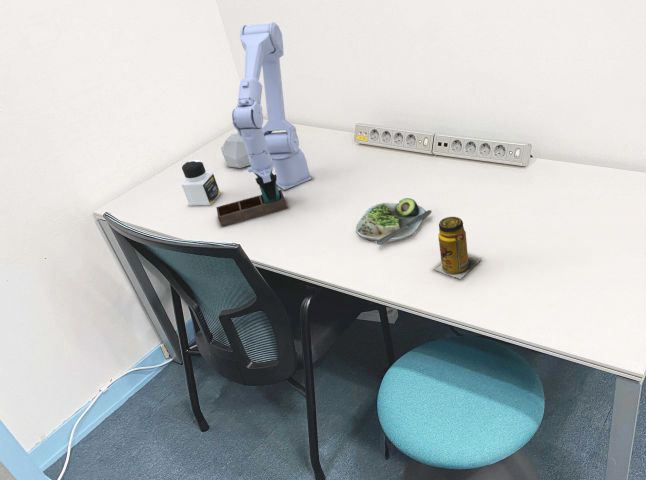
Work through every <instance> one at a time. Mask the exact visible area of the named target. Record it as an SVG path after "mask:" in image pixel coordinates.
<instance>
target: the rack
mask: <svg viewBox="0 0 646 480" xmlns="http://www.w3.org/2000/svg"><path fill="white" fill-rule="evenodd" d="M282 190H283V189H278V191H279V194H280V198H281V200H277V201H274V202H270V203H266V204H265V202H264V199H263V196H262V194H259V195H256V196H252V197H247V198H245V199H240V200H237V201H233V202H229V203H226V204H223V205H219V206H216V207H215V208H216V213H217V218H218V222H219V224H220V227H222V228H223V227H226V226H229V225H230V226H231V225H233V224H236V223H240V222H245V221H248V220H251V219H254V218H258V217H262V216H265V215H269V214H273V213H276V212H280V211H284V210H286V209H288V205H287V202H286V198H285V195H284V192H283V191H282Z"/></svg>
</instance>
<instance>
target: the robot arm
mask: <svg viewBox="0 0 646 480" xmlns="http://www.w3.org/2000/svg"><path fill="white" fill-rule="evenodd" d="M239 31H240V32H239V37H240V38H239V39H240V43H241V46H242V49H243V50H244V52H245V57H244V60H245V61H244V62H245V63H244V78H243V79H241V80H240V82H239V88H238V97H237V103H236V104H237V105H236V106H235V108H233V110H232V112H231V119H232V125H233V127H234V128H235V130H236V131H237V133H239V135H240V136H241V137H242V139H243V142H244V145H245V148H246V152H247V155H248V158H249V161H250V164H251V165H250V166H247V168H246V169H247V172H248V173H253V174H254V175H255V176H256V178H255V183H256V184H257V185H258V186H260V187H261V188H262V189H263V191H264V193H265V195H266V196H267V198H268V200H273V199H276V188H275V185H276V184H277V187H279V188H280V189H281V190H283V191H285V190H288V189H291V188H293V187H296V186H298V185H300V184H303V183H306V182H308V181H310V180H312V177H311V174H310V169H309V166H308V162H307V158H306V156H305V154H304V152H303V150H302V149H301V148H300V141H299V137H298V134H297V129H296V126H295V125H294V124H292V123H291V122H290V121H288V120H286V112H285V102H284V92H283V82H282V80H283V79H282V72H281V70H282V69H281V62H280V61H281V60H280V58H282V57H283V56H284V40H283V33H282V30H281V29H280V26H279V25H278V24H277V23H276V22H269V23H261V24H260V23H259V24H250V25H247V24H244V25H242V26H241V28H240V30H239ZM261 72H262V76H263V84H264V94H265V95H264V96H265V105H266V114H267V122H266V123H265V124H264V114H263V106H262V105H261V104H262V103H261V102H262V95H263V85H262V83H261V82H260V77H261ZM263 124H264V125H263ZM280 131H281V132H280ZM273 170H274V173H275V174H274V175H271V176H270V173H273ZM258 176H260V177H259V178H257V177H258ZM260 187H259V188H260Z"/></svg>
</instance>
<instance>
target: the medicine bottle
mask: <svg viewBox="0 0 646 480" xmlns="http://www.w3.org/2000/svg"><path fill="white" fill-rule="evenodd" d="M181 170H182V172H183V175H184V178H185V180H184V181H183V182H182V183H181V187H182V190H183V192H184V196H185V198H186V201H187V203H188V205H189V206H190V207H191V206H192V207H193V206H212V204H213V203H214V202H215V201H216V200H217V198H218V197H219V196H220V194H221V191H220V188H219V186H218V183H217V180H216V177H215V175H214V172H207V170H206V168H205V165H204V162H203V161H202V160H199V159H192V160H189V161H186V162H185V163H183V164H182V165H181Z"/></svg>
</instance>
